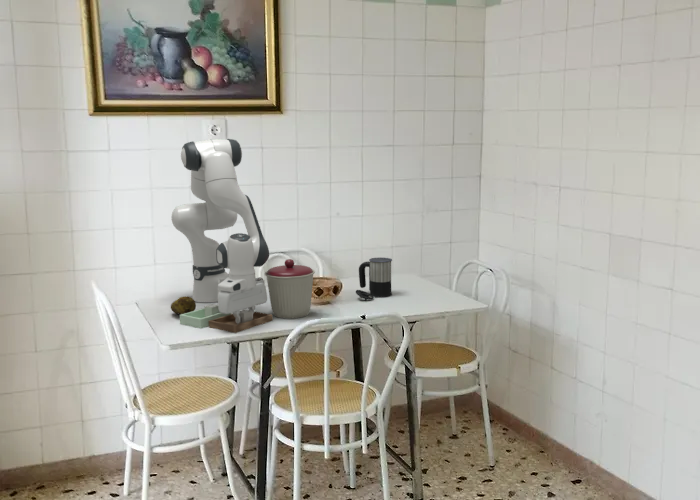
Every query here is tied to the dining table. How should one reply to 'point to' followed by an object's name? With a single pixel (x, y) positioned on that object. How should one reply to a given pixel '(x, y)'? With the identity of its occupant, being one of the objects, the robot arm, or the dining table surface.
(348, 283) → the dining table surface
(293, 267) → the canister
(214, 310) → the stone
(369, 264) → the milk frother
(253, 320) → the walnut tray
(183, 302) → the potato
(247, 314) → the stone
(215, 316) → the green bin
